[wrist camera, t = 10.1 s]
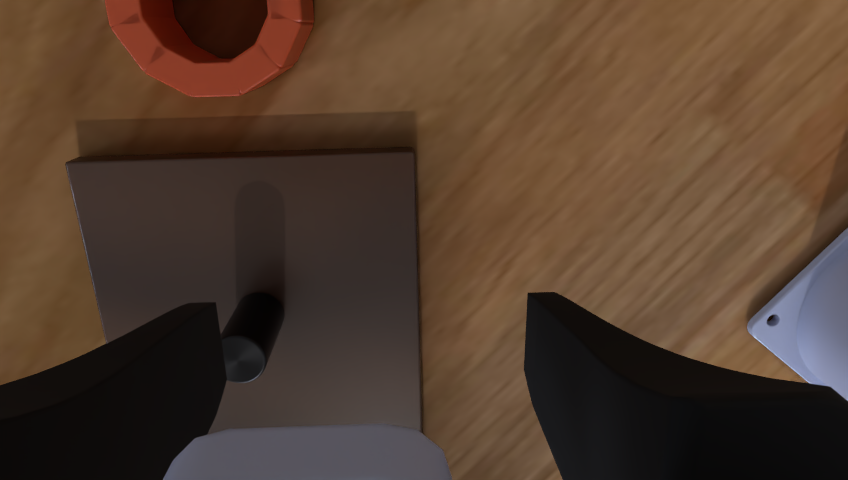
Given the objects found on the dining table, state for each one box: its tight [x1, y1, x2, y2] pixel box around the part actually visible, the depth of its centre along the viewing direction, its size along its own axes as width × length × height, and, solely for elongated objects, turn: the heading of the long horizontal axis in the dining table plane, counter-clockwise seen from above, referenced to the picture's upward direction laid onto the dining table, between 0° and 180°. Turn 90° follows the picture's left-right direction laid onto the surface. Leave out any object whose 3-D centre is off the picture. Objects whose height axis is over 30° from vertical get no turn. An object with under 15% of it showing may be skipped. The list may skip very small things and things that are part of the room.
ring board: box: [66, 147, 422, 435], centre depth 23 cm, size 24×12×4 cm, turn 1°
